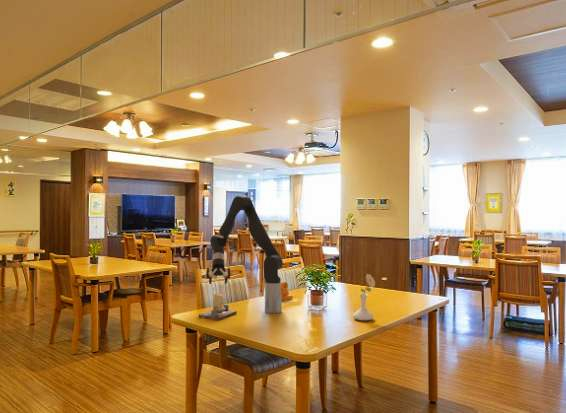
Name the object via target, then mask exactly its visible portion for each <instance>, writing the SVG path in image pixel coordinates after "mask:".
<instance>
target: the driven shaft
mask: <svg viewBox="0 0 566 413" xmlns="http://www.w3.org/2000/svg"><path fill="white" fill-rule="evenodd" d="M211 310H212V311H211ZM211 310H210V311H211V316H214V317H216V316H217V311H215V310H213V309H211Z"/></svg>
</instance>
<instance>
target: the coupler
mask: <svg viewBox="0 0 566 413" xmlns="http://www.w3.org/2000/svg"><path fill="white" fill-rule="evenodd" d="M212 296H213V298H212V299H213V302H212V304H213V306H212V308H213V309H212V310H215V311H217V314H221V313H222V308H223V293H213V295H212Z"/></svg>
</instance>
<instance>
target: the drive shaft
mask: <svg viewBox="0 0 566 413" xmlns="http://www.w3.org/2000/svg"><path fill="white" fill-rule="evenodd" d="M229 306H230V305H229V304H226V303H225V304H222V311H225V310H229Z"/></svg>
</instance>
